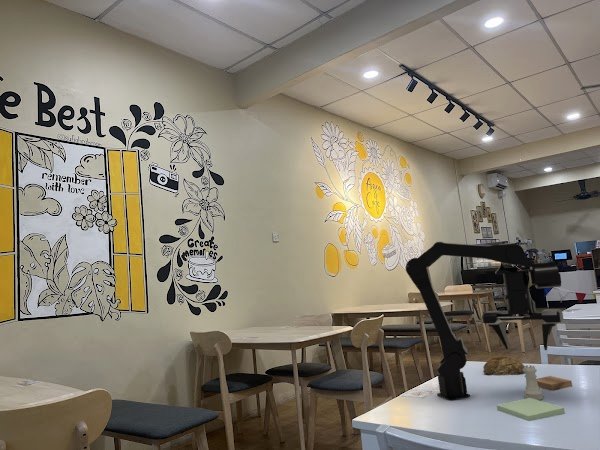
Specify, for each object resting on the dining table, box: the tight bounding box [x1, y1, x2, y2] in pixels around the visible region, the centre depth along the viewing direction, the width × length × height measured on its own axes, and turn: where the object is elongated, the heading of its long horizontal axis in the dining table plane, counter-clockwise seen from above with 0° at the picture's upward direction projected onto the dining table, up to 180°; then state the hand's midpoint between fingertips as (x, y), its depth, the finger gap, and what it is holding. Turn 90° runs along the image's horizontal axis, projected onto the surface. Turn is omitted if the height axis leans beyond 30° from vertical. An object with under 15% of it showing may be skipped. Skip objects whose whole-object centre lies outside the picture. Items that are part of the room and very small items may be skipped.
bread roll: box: [482, 355, 525, 376], centre depth 144 cm, size 13×12×5 cm
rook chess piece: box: [523, 364, 544, 401], centre depth 113 cm, size 4×4×8 cm
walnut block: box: [536, 375, 573, 391], centre depth 122 cm, size 7×7×2 cm
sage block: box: [496, 398, 566, 422], centre depth 103 cm, size 10×10×2 cm
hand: (526, 349), depth 116 cm, fingers open, 9 cm apart
